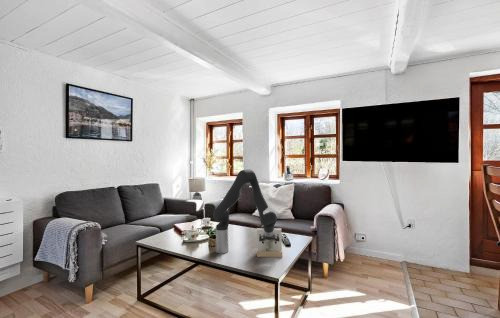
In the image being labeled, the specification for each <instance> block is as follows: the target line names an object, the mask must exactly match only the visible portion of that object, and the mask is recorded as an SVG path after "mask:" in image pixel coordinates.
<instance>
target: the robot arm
mask: <svg viewBox="0 0 500 318" xmlns="http://www.w3.org/2000/svg"><path fill="white" fill-rule="evenodd" d="M235 177H236V178H235V179H234V182H233V183H232V185H231V186H230V187H229V190H228V191H227V192H226V194H225V196H224V197H223V199H222V200H221V202H220V203H219V204H218V205H217V206H216V208H215V209H214V210H213V213H212V218H213V220H214V221H217V222H219V223H217V224H216V225H215V237H216V238H215V239H214V240H215V253H217V254H227V253H228V252H229V225H230V211H229V209H230V208H231V207H233V206H234V205H235V204H236V203H237V202H238V200H239V199H240V197H241V189H242V188H243V186H244V185H245V184H250V186H251V188H252V199H253V204H255V205H254V206H255V207H256V209H257V212H258V215H259V220H260V221H259V222H260V223H261V225H262V227H263V228H262V229H263V233H264V235H261V234H259V241H262V243H263V244H264V241H266V240H272V241H275V244H276V243H277V241H278V242H279V234H277V235H274V232H275V231H274V229H275V225H276V224H277V219H278V216H277V214H276V213H275V212H274V211H269V212H266V213H264V211H266V210H267V209H268V208H269V205H268V203H267V201H266V199H265V197H264V195H263V193H262V190H261V188H260V184H259V181H258V177H257V175H256V173H255V171H254V170H253V169H242V170H240V171H239V172H238V174H237V175H236V176H235ZM262 237H263V238H262Z"/></svg>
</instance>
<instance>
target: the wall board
mask: <svg viewBox="0 0 500 318" xmlns="http://www.w3.org/2000/svg"><path fill="white" fill-rule="evenodd" d="M274 231H275V232H274V235H277V234H279V242H278V241H277V243H276V244H275V241H273V251H266V241H264V244H263V243H262V241H259V234H261V235H264V233H263V228H256V243H257V245H256V246H257V247H256V248H257V251H256V257H257V258H283V247H282V246H283V244H282V240H283V239H282V238H283V237H282V228H274ZM262 238H263V237H262Z"/></svg>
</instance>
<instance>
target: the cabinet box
mask: <svg viewBox="0 0 500 318" xmlns="http://www.w3.org/2000/svg"><path fill="white" fill-rule="evenodd" d="M266 251H273V241H272V240H266Z"/></svg>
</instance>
